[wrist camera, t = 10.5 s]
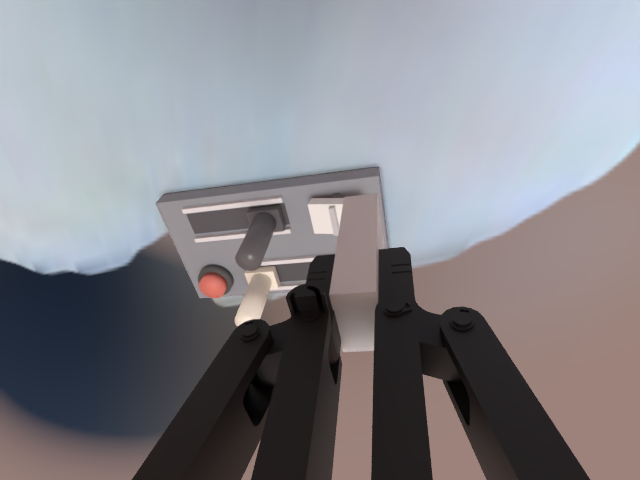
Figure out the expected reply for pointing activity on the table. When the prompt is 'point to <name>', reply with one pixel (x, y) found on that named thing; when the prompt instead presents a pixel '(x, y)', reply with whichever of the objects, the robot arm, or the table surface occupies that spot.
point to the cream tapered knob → (257, 293)
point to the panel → (232, 225)
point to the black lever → (259, 235)
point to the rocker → (325, 215)
